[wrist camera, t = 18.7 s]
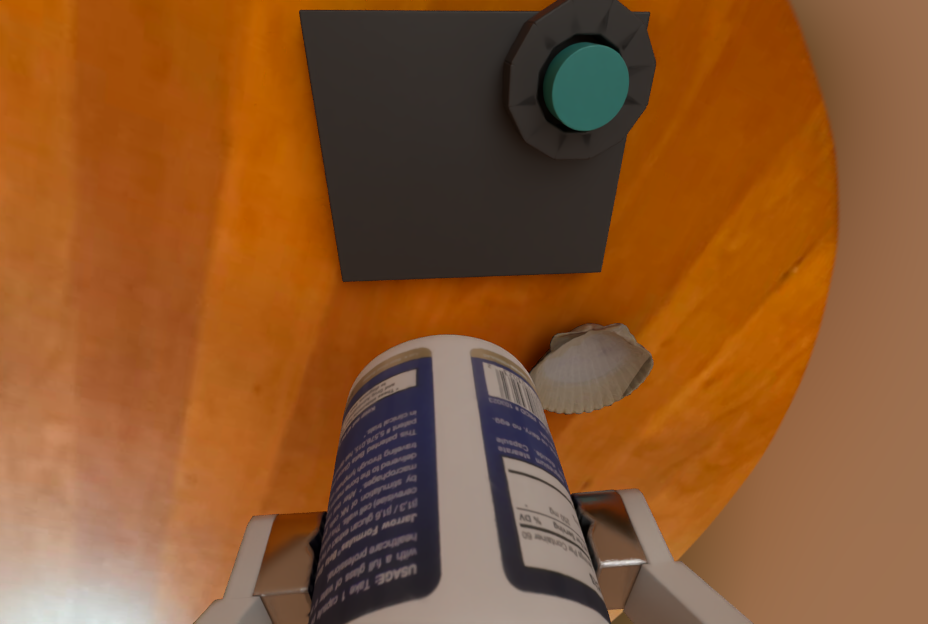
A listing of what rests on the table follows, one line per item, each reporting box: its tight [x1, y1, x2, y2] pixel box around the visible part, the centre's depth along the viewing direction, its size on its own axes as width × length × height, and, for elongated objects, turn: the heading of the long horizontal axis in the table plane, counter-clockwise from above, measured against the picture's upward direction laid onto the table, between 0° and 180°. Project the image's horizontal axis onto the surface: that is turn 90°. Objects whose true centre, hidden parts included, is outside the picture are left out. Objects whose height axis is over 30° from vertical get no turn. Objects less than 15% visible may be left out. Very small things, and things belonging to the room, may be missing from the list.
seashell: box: [529, 323, 653, 414], centre depth 29 cm, size 8×3×8 cm
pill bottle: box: [308, 335, 611, 624], centre depth 9 cm, size 5×5×10 cm
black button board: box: [299, 0, 656, 282], centre depth 21 cm, size 14×12×3 cm
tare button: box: [543, 42, 629, 131], centre depth 18 cm, size 3×3×2 cm
